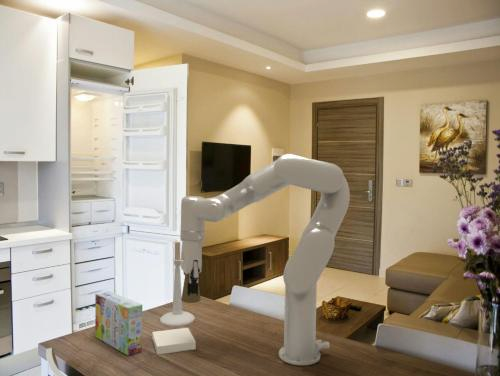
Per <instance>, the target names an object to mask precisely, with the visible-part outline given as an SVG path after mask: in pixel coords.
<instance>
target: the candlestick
mask: <svg viewBox="0 0 500 376" xmlns="http://www.w3.org/2000/svg"><path fill="white" fill-rule="evenodd" d="M172 262H173V265H174V267H175V268H174V279H173V280H174V281H173V297H172V298H173V299H172V302H173V304H172V311H169V312H167V313H164V314H163V315H162V316H161V317H160V319H159V322H160V324H162V326H168V327H183V326H188V325H191V324H192V323H193V322H195V319H196V318H195V316H194V315H193V314H192V313H191V312H189V311H184V310H183V301H182V300H181V299H182V281H181V266H180V265H181V241H179V240H177V241H175V242H174V258H173V259H172Z"/></svg>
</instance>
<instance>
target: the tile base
mask: <svg viewBox="0 0 500 376" xmlns="http://www.w3.org/2000/svg"><path fill="white" fill-rule="evenodd" d="M151 336H152V337H151V338H152V342H153V345H154V350H155V352H156V355H165V354H171V353H177V352H185V351H193V350H197V349H196V344H197V343H196V342H197V341H196V340H195V338H194V335H193V334H192V332H191V330H190V329H189V327H181V328H176V329H175V328H174V329H173V328H172V329H166V330H158V331H152V335H151Z"/></svg>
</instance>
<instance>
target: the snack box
mask: <svg viewBox="0 0 500 376" xmlns="http://www.w3.org/2000/svg"><path fill="white" fill-rule="evenodd" d="M94 298H95V302H94V303H95V307H94V308H95V311H94V312H95V314H94V315H95V316H94V317H95V325H94V326H95V327H94V328H95V331H94V332H95V333H94V334H95V338H97V339H98V340H100V341H102V342H104V343H106V344H107V345H109V346H111V347H112V348H113V349H116V350H117V351H119V352H121V353H123V354H124V355H126V356H127V357H128V356H131V355H135V354H137V353H140V352H142V351H143V350H142V349H143V348H142V345H143V344H142V343H143V336H142V335H143V304H142V303H140V302H137V301H134V300H132V299H130V298H127V297H125V296H122V295H120V294H118V293H115V292H113V291H110V290H107V291H102V292H97V293H95V297H94Z"/></svg>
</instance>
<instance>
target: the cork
mask: <svg viewBox="0 0 500 376" xmlns="http://www.w3.org/2000/svg"><path fill="white" fill-rule="evenodd" d="M198 270H199V268H198ZM182 271H183V270H182ZM191 273H193V271H191ZM200 273H201V272H200ZM200 273H198V275H199V276H200ZM183 275H184V279H183V287H182V291H181V296H182V299H181V300H182V303H188V304H192V303H193V304H194V303H198V302H200V301H201V291H200V290H201V289H200V281H199V279H198V295H196V293H195V294H192V293H190V296H188V283H189V273H188V274H186V273H185V272H184V271H183ZM192 276H193V275H191V277H192Z"/></svg>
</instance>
